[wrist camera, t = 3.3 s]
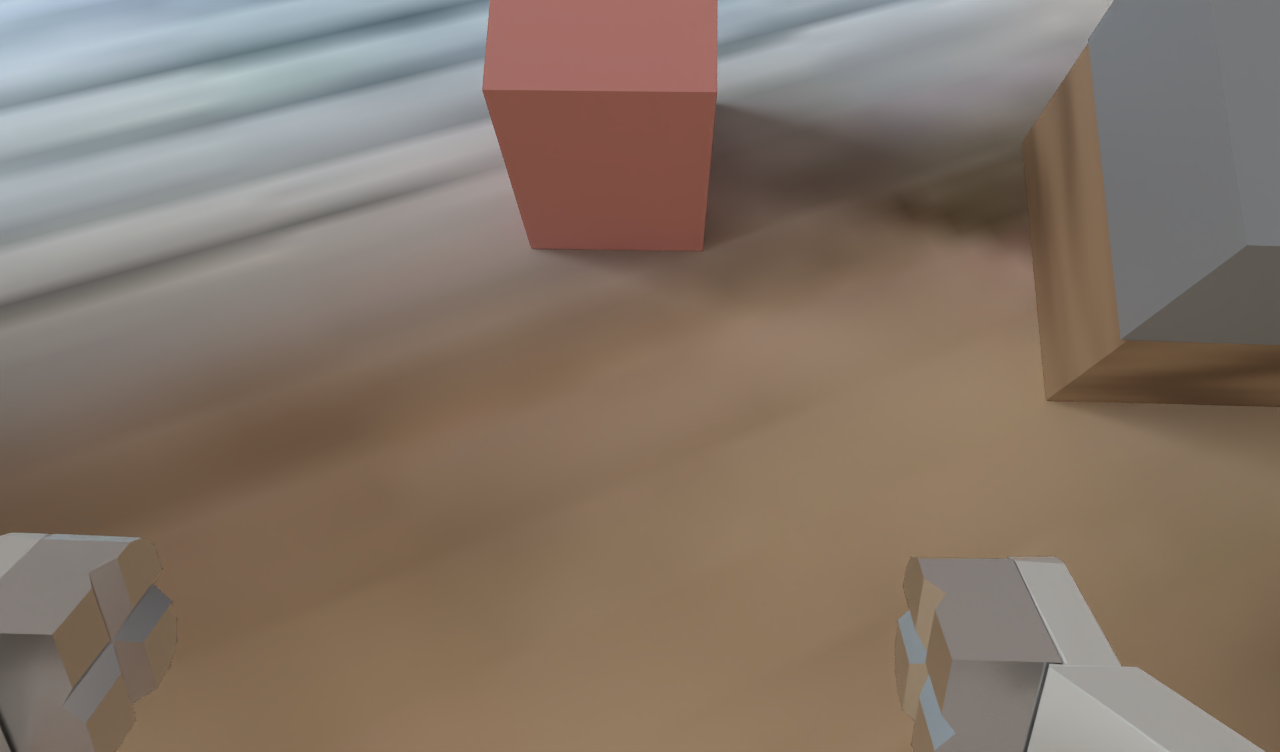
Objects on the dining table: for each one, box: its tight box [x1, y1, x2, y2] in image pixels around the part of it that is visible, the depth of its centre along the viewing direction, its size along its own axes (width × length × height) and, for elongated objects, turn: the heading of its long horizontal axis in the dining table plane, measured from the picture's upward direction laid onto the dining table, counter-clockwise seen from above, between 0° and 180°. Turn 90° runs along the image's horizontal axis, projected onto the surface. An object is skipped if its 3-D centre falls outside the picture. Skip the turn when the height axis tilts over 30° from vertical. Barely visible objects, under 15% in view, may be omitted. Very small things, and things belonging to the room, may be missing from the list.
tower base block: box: [1022, 44, 1280, 407], centre depth 25 cm, size 8×8×5 cm
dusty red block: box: [482, 0, 717, 251], centre depth 25 cm, size 5×5×8 cm
